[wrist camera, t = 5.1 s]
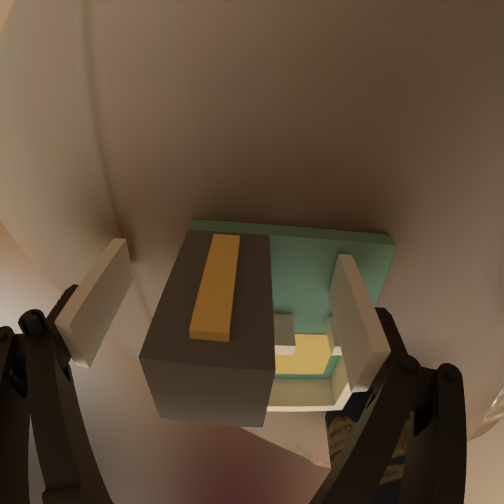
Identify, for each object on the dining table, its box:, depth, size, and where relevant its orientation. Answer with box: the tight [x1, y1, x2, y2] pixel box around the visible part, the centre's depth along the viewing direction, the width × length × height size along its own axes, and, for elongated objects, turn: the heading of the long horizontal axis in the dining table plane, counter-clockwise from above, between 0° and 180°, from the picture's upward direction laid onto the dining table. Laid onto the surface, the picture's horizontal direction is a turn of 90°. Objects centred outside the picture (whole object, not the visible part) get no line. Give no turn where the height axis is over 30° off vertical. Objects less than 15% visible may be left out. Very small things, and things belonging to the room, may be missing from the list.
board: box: [189, 219, 397, 379], centre depth 19 cm, size 13×11×1 cm
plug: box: [139, 230, 276, 427], centre depth 12 cm, size 4×4×8 cm
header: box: [267, 314, 353, 412], centre depth 19 cm, size 8×8×2 cm
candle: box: [325, 384, 410, 504], centre depth 18 cm, size 10×10×18 cm
